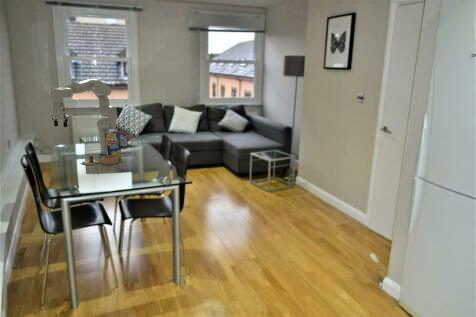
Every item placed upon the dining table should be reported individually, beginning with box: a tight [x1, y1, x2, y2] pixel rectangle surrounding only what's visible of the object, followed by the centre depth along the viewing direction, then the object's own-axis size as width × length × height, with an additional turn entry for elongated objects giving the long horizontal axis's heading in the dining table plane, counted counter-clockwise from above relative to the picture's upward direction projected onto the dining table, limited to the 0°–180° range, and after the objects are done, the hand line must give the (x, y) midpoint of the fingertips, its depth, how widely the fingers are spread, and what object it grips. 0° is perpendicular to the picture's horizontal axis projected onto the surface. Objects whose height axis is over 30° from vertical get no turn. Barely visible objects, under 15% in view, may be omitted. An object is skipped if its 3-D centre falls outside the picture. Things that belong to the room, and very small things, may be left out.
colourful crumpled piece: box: [117, 129, 135, 148], centre depth 367 cm, size 20×22×18 cm
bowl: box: [100, 155, 119, 165], centre depth 300 cm, size 12×12×5 cm
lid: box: [81, 154, 102, 166], centre depth 298 cm, size 14×14×6 cm
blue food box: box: [105, 131, 122, 159], centre depth 315 cm, size 7×11×22 cm, turn 121°
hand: (60, 126), depth 292 cm, fingers open, 9 cm apart
